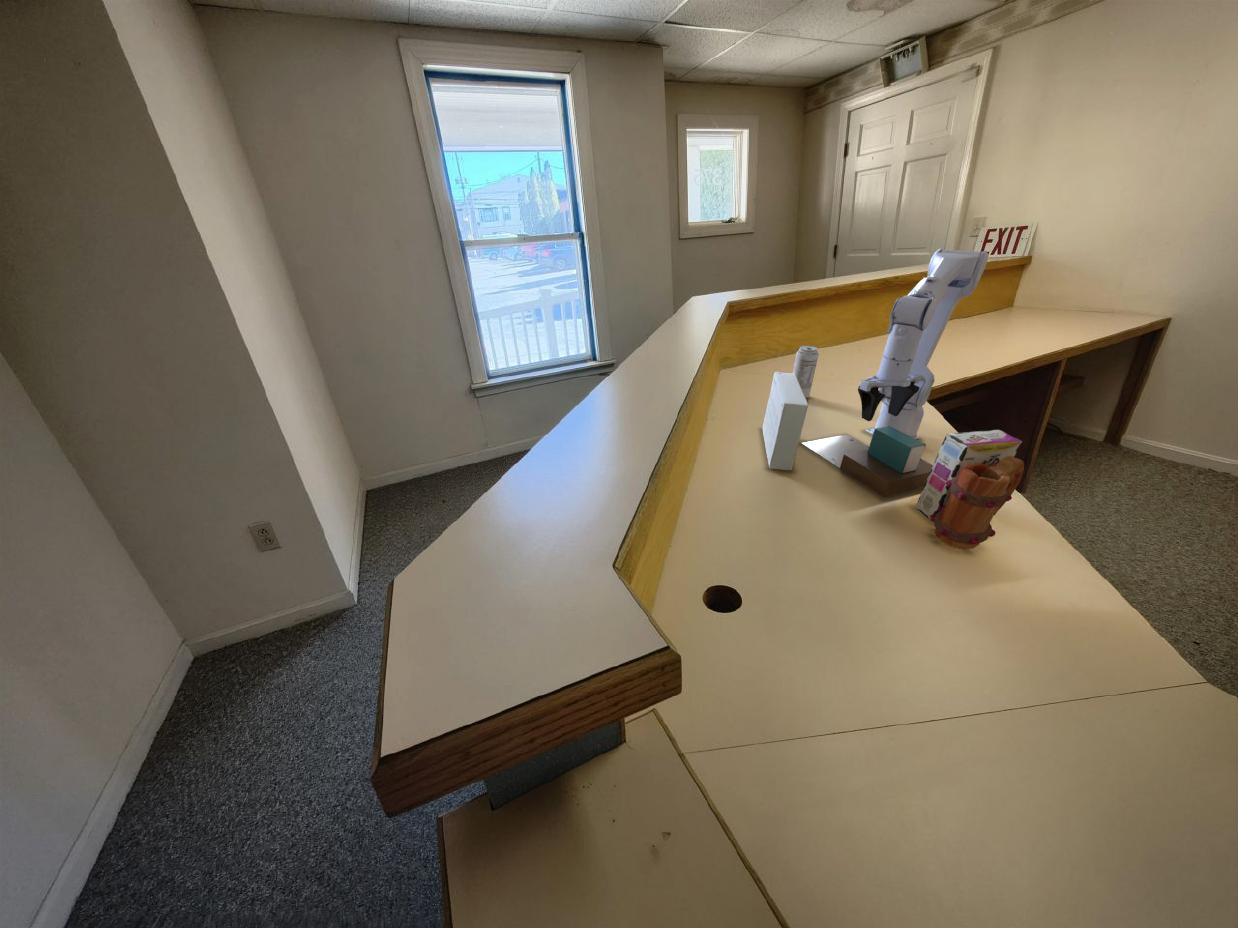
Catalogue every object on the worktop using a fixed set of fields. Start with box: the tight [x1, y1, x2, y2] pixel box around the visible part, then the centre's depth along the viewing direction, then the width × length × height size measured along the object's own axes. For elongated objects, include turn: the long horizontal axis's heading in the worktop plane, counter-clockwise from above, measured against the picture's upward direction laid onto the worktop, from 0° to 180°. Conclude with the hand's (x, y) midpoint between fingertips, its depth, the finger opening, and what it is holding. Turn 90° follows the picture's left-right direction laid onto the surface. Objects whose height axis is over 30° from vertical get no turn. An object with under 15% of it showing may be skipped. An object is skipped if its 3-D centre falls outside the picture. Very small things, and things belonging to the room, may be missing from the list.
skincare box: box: [761, 371, 809, 471], centre depth 105 cm, size 21×6×16 cm, turn 168°
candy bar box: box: [914, 429, 1023, 522], centre depth 83 cm, size 11×5×16 cm, turn 100°
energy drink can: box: [792, 345, 820, 400], centre depth 134 cm, size 6×6×15 cm
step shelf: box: [801, 433, 934, 498], centre depth 102 cm, size 14×25×4 cm, turn 19°
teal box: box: [867, 426, 927, 473], centre depth 94 cm, size 4×9×6 cm, turn 19°
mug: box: [930, 456, 1025, 551], centre depth 77 cm, size 15×8×15 cm, turn 114°
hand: (879, 416), depth 101 cm, fingers open, 7 cm apart
